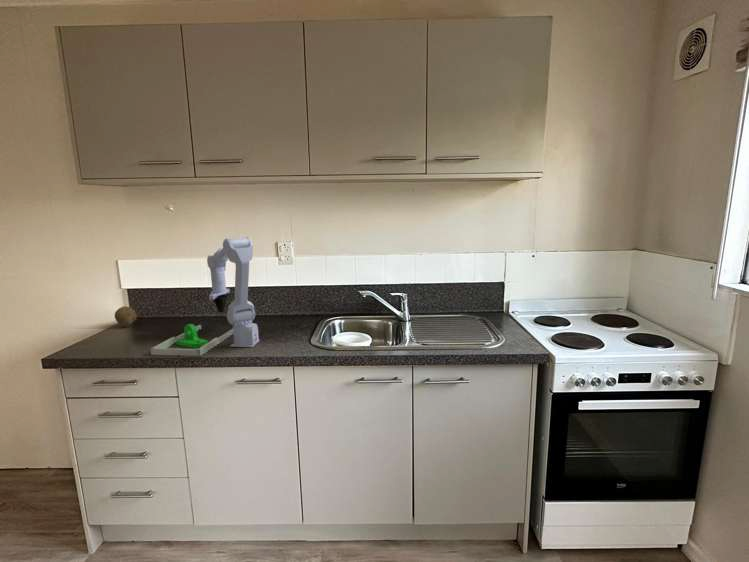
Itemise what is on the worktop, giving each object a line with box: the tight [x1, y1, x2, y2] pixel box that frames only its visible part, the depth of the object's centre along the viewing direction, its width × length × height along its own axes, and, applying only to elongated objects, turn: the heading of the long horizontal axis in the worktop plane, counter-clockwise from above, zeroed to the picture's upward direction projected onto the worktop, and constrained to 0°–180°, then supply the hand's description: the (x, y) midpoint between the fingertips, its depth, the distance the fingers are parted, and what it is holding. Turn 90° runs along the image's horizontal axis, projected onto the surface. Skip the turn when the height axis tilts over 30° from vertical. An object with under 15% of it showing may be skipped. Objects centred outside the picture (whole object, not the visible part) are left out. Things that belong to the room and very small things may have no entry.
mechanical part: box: [176, 323, 209, 349], centre depth 166 cm, size 12×6×8 cm, turn 61°
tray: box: [150, 336, 220, 357], centre depth 162 cm, size 20×14×2 cm
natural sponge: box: [114, 306, 138, 328], centre depth 195 cm, size 9×9×10 cm
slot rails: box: [174, 324, 233, 344], centre depth 178 cm, size 20×20×2 cm
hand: (221, 311), depth 180 cm, fingers closed
